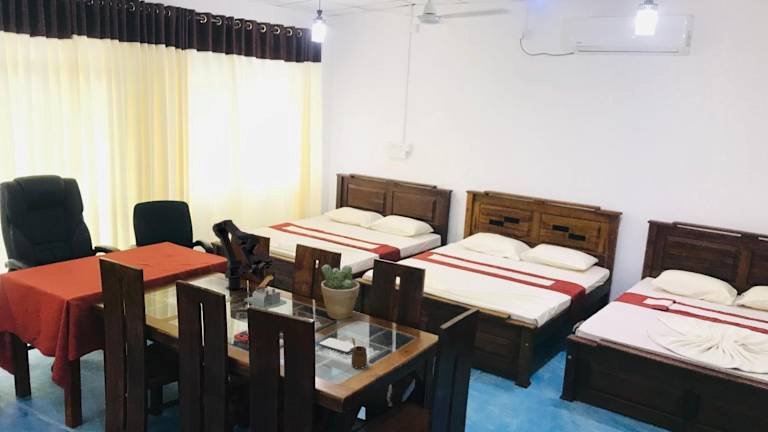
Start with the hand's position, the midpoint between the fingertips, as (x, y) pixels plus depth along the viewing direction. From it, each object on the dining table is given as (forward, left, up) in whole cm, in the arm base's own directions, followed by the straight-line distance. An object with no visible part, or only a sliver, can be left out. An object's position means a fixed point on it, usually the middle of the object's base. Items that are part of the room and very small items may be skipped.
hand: (263, 280), depth 287 cm
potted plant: (+40, +14, -11) cm, 44 cm away
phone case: (+66, -13, -11) cm, 68 cm away
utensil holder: (+84, -20, -11) cm, 87 cm away
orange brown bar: (+2, 0, -1) cm, 2 cm away
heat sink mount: (+1, 0, -11) cm, 11 cm away
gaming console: (+32, -26, -12) cm, 43 cm away
